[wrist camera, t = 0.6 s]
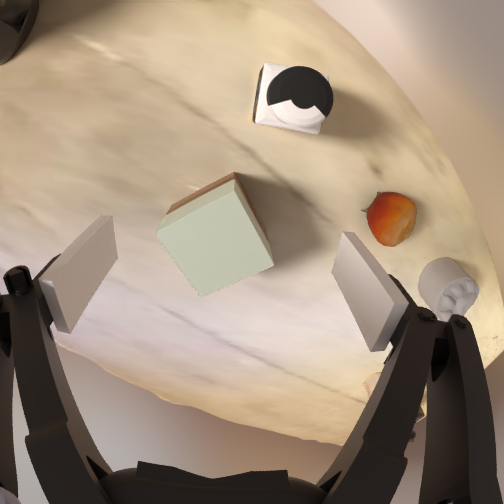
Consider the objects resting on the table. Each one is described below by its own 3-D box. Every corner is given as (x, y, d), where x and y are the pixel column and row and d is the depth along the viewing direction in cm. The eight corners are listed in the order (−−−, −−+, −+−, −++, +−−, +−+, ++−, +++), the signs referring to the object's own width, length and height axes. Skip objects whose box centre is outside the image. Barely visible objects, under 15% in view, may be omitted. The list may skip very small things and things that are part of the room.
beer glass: (385, 379, 64) (403, 423, 50) (362, 390, 65) (378, 435, 52) (384, 367, 60) (404, 414, 47) (359, 378, 62) (376, 427, 48)
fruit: (373, 172, 36) (417, 202, 31) (391, 187, 41) (428, 214, 36) (344, 218, 39) (384, 252, 34) (366, 227, 44) (400, 256, 39)
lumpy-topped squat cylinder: (437, 307, 52) (455, 332, 44) (407, 288, 48) (428, 316, 41) (465, 271, 48) (487, 294, 40) (439, 246, 44) (465, 271, 37)
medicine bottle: (259, 70, 30) (270, 52, 19) (313, 81, 31) (346, 70, 20) (251, 121, 33) (258, 126, 23) (304, 130, 34) (334, 140, 24)
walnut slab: (172, 204, 38) (164, 217, 34) (234, 171, 37) (233, 180, 32) (206, 258, 43) (203, 276, 39) (265, 231, 41) (269, 246, 37)
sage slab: (164, 216, 34) (154, 232, 30) (234, 178, 32) (234, 190, 28) (204, 275, 38) (200, 297, 34) (269, 245, 37) (274, 265, 32)
